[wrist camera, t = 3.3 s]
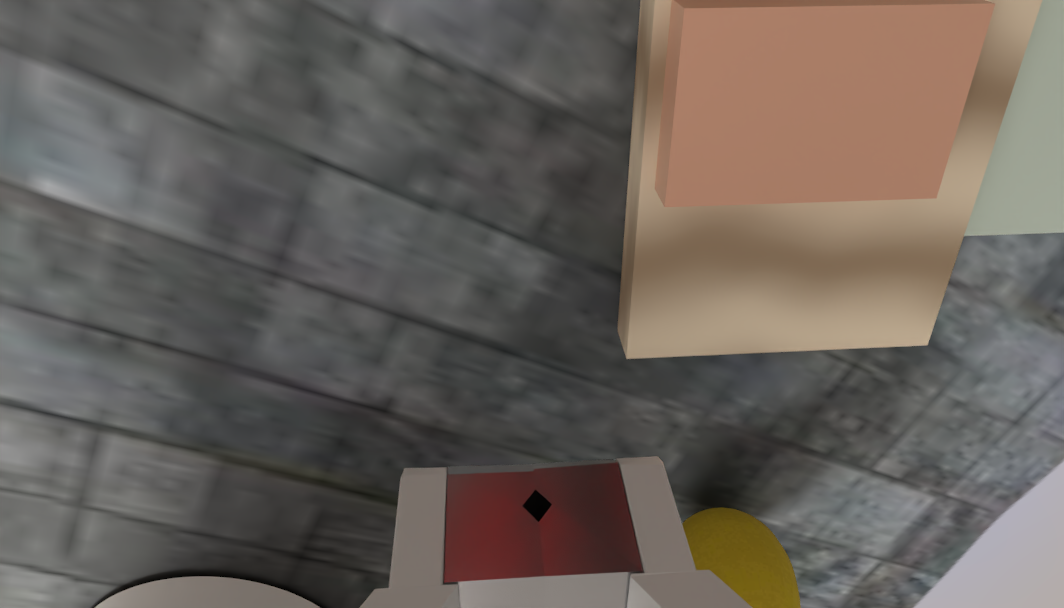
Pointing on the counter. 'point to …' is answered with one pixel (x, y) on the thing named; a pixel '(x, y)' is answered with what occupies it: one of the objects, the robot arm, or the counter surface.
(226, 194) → the counter surface
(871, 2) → the tile
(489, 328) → the counter surface
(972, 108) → the beige flat board
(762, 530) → the lemon
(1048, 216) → the mat
